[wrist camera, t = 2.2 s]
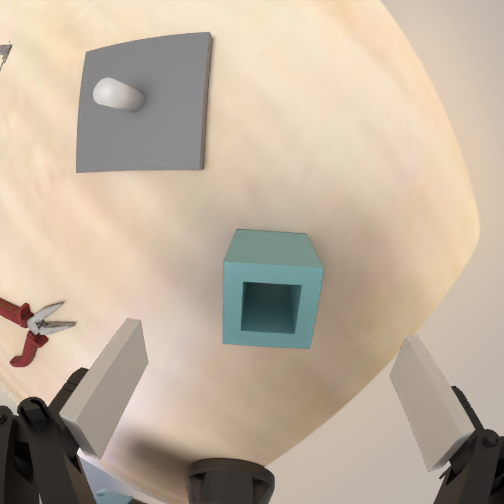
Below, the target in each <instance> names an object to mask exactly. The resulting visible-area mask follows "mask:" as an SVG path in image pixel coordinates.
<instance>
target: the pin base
mask: <svg viewBox="0 0 504 504" xmlns="http://www.w3.org/2000/svg"><path fill="white" fill-rule="evenodd" d="M212 40H213V38H212V36H211V34H210V32H200V33H187V34H177V35H168V36H160V37H153V38H147V39H141V40H135V41H130V42H125V43H120V44H116V45H111V46H107V47H103V48H99V49H95V50H91V51H88V52H86V55H85V61H84V68H83V74H82V82H81V90H80V99H79V110H78V124H77V147H76V173H85V172H102V171H124V170H202V169H204V147H205V128H206V111H207V97H208V83H209V71H210V60H211V49H212Z"/></svg>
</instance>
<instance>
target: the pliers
mask: <svg viewBox="0 0 504 504" xmlns="http://www.w3.org/2000/svg"><path fill="white" fill-rule="evenodd" d="M62 304H63V303H60V304H56V305H52V306H49V307H45V308H43V309H42V310H41V311H39V312H38V313H37V314H36V315H33V313H31V312H30V307H29V304H27V303H25V304H23V305H22V306H21V307H17V306H15V305H13V304H10V303H8V302H6V301H4V300H2V299H0V315H1V316H3V317H5V318H7V319H9V320H10V321H12V322H14V323H16V324H18V325H20V326H21V327H24V328H27V327H29V329H30V331H28V334H27V336H26V337H27V338H26V341H25V345H24V349H23V353H22V356H15V357H14V358H13V359H12V360H11V361H10V364H11V365H12V366H13V367H26V366H28V365H29V364H30V363H31V361H32V359H33V357H34V354H35V351H36V348H37V347H38V348H41V347H42V346H43V345H44V344H45V343H47V341H48V338H47V337H46V336H45V335H47V334H53V333H56V332H59V331H61V330H64V329H67V328H70V327H73V326H75V324H73V323H64V322H50V323H49V324H48V325H47V324H46V323H45V322H44V320H43V319H44V318H45V317H46V316H48V315H49V314H50V313H52V312H53V311H54V310H55V309H57V308H58V307H59V306H61V305H62Z"/></svg>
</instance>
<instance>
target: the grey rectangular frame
mask: <svg viewBox="0 0 504 504" xmlns="http://www.w3.org/2000/svg"><path fill="white" fill-rule="evenodd" d="M9 43H10V42H9ZM11 47H12V45H0V54H4V55H3V58H2V59H4V60H3V62H2V65H3V63H5V61H6V59H7V57H8V55H9V52H10V50H11ZM2 65H1V67H2ZM0 70H1V68H0Z"/></svg>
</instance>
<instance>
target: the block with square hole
mask: <svg viewBox="0 0 504 504" xmlns="http://www.w3.org/2000/svg"><path fill="white" fill-rule="evenodd" d="M323 270H324V268H323V266H322V264H321V261H320V259H319V257H318V255H317V253H316V251H315V249H314V247H313V245H312V243H311V241H310V240H309V238H308V236H307V234H301V233H287V232H273V231H258V230H243V229H236V232H235V234H234V237H233V239H232V242H231V244H230V247H229V249H228V252H227V254H226V257H225V259H224V269H223V344H234V345H247V346H262V347H280V348H307V349H310V345H311V340H312V334H313V329H314V324H315V318H316V313H317V307H318V301H319V295H320V289H321V283H322V276H323Z"/></svg>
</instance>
